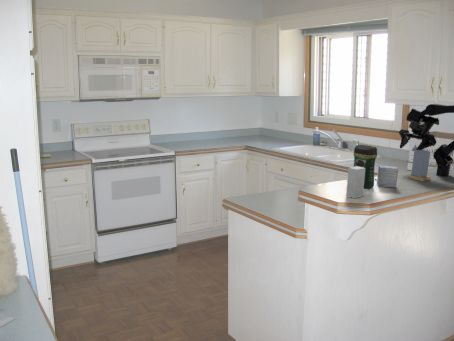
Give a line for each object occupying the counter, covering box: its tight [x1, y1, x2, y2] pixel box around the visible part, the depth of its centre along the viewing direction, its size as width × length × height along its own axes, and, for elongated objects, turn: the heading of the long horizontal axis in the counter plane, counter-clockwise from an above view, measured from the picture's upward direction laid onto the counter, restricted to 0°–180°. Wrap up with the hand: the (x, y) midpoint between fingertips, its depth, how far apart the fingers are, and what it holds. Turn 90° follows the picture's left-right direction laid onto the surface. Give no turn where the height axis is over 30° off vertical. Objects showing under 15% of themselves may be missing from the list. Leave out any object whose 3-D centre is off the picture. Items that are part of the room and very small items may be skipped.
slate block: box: [410, 149, 431, 177], centre depth 233 cm, size 5×5×12 cm
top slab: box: [408, 174, 431, 182], centre depth 235 cm, size 7×7×2 cm
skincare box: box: [345, 166, 365, 199], centre depth 199 cm, size 6×4×12 cm
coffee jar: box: [353, 144, 378, 190], centre depth 215 cm, size 10×8×19 cm
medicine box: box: [376, 165, 399, 188], centre depth 220 cm, size 8×4×9 cm, turn 84°
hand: (408, 149), depth 242 cm, fingers open, 9 cm apart
